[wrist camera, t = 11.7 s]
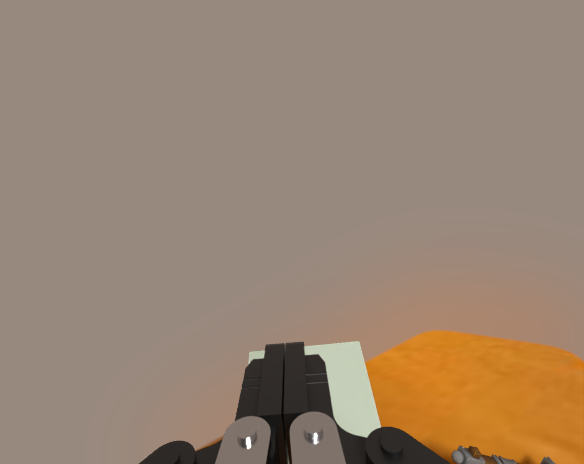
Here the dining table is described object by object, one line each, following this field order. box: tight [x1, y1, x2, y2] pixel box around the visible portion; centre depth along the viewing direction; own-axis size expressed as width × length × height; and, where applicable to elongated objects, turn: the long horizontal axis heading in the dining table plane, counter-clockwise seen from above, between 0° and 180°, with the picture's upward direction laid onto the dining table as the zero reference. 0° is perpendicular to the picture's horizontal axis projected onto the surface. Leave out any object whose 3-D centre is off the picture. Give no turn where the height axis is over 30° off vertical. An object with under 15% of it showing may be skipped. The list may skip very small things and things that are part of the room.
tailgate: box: [248, 341, 381, 464], centre depth 25 cm, size 10×1×12 cm
